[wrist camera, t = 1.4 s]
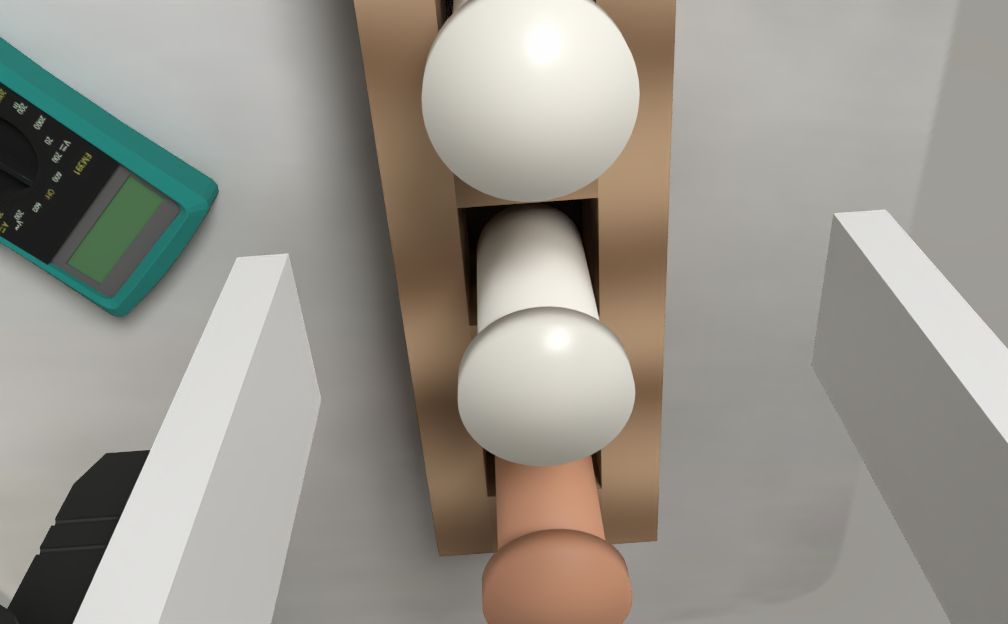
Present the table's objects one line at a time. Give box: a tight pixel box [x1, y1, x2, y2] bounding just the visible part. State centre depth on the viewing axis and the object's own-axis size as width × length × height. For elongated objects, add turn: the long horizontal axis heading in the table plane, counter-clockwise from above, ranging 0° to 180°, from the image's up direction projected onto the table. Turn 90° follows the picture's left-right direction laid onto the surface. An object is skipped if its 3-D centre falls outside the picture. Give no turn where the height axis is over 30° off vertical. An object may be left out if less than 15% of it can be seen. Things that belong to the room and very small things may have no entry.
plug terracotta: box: [482, 455, 632, 624], centre depth 35 cm, size 5×5×9 cm
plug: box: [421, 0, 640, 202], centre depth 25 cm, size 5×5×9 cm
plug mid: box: [458, 203, 635, 466], centre depth 30 cm, size 5×5×9 cm
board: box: [354, 0, 676, 556], centre depth 36 cm, size 30×10×6 cm, turn 4°
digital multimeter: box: [0, 37, 219, 317], centre depth 35 cm, size 7×15×3 cm, turn 48°
